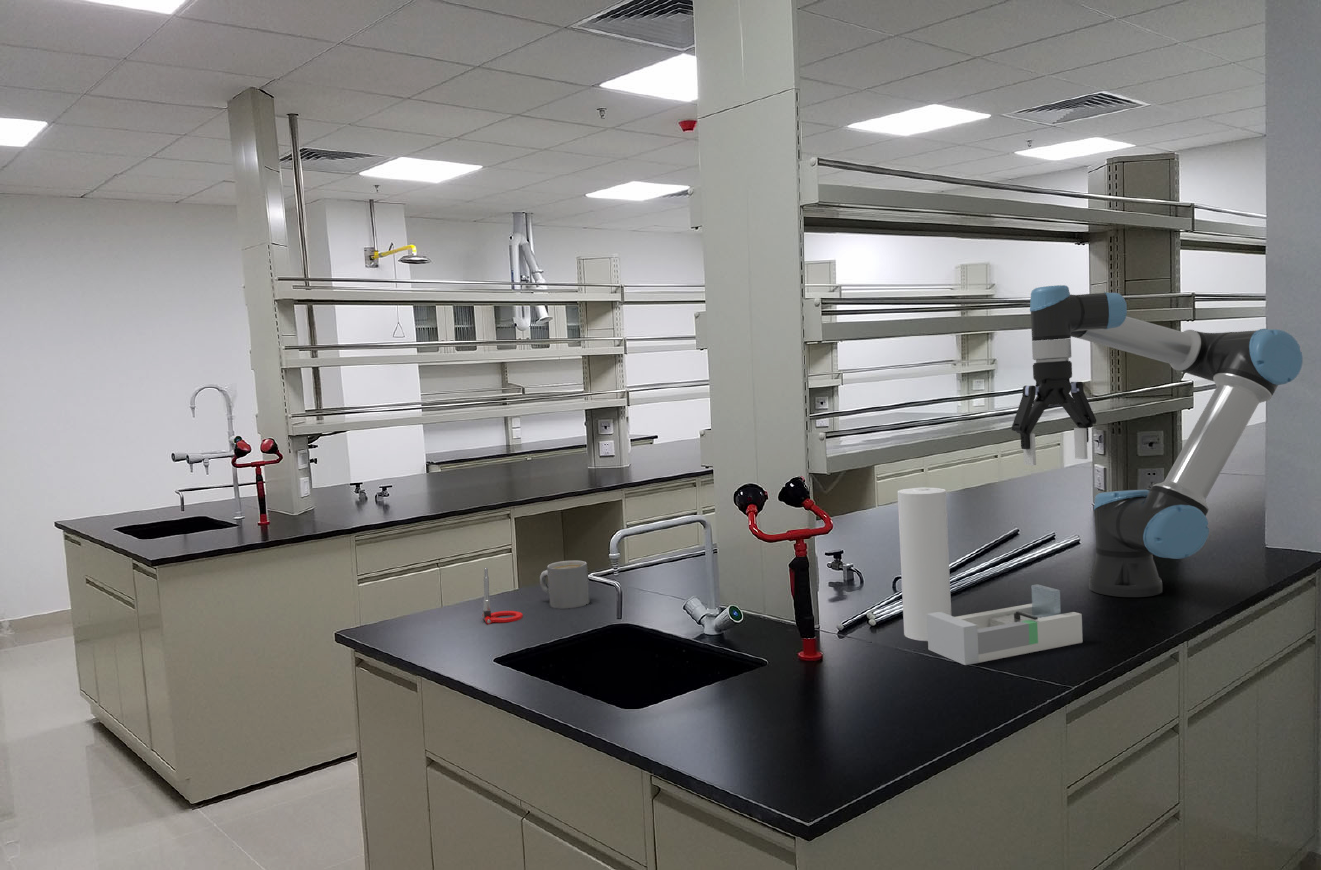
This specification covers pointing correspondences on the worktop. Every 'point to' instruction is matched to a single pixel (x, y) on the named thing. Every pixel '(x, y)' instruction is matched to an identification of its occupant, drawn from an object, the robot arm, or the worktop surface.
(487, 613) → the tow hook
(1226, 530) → the worktop surface
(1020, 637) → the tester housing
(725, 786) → the worktop surface
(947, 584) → the cylinder container
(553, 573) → the coffee mug
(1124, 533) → the robot arm
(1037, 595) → the plunger
